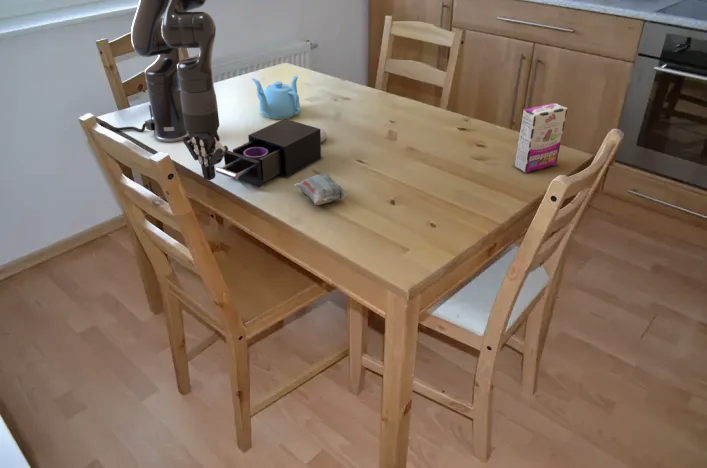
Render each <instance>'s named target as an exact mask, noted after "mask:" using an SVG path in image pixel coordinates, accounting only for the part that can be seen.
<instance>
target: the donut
mask: <svg viewBox="0 0 707 468" xmlns="http://www.w3.org/2000/svg"><path fill="white" fill-rule="evenodd" d="M307 125H308V126H312V127H315V128H319V129H320V133H321V143H323V142H324V141H325V140H326V137H327V132H326V130H325V129H324V127H322V126H319V125H316V124H307Z"/></svg>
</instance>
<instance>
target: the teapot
mask: <svg viewBox="0 0 707 468" xmlns="http://www.w3.org/2000/svg"><path fill="white" fill-rule="evenodd" d="M298 79H299V75H294V77H292V80H291V83H290V85H289V84H285V83H283V82H282V81H274V82H273V83H272V84H269V85H267V86H266V87H265V89H263V87H262V84H261V82H260V80H258V79H256V78H251V80H252V81H253V82H254V84H255V86H256V87H255V88H256V95H257V98H258V100H259V104H258V109H259V111H260V113H261V114H262V115H263V116H264V117H266V118H268V119H274V120H283V119H290V118H292V117H295V115H299V114H301V111H302V109H301V104H300V96H299V94H298V87H297V81H298Z"/></svg>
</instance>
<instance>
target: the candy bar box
mask: <svg viewBox="0 0 707 468" xmlns="http://www.w3.org/2000/svg"><path fill="white" fill-rule="evenodd" d="M568 109H569V108H568V107H566V106H564V105H561V104H559V103H557V102H553V103H548V104H543V105H538V106H534V107H529V108H524V109H523V110H522V116H521V122H520V128H519V136H518V141H517V147H516V152H515V153H516V154H515V160H514V168H516V169H517V170H519V171H522V172H523V173H525V174H527V173H532V172H535V171H539V170H542V169H546V168H549V167H554V166H556V165H557V161H558V159H559V152H560V147H561V143H562V138H563V133H564V127H565V123H566V118H567V112H568Z"/></svg>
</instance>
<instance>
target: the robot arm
mask: <svg viewBox="0 0 707 468" xmlns="http://www.w3.org/2000/svg"><path fill="white" fill-rule="evenodd" d="M206 1H207V0H139V1H138V5H137V9H136V12H135V15H134V18H133V21H132V24H131V25H132V26H131V31H130V32H131V33H130V35H131V36H130V37H131V44H132V47H133V50H134V52H135V53H136V54H138V55H139V56H140V57H143V58H151V57H156V56H158V57H157V58H156V60H155V61H154V62H153V63H152V64H150V65H149V66H147V68H146V69H145V70H144V77H145V82H146V88H147V92H148V98H149V104H148V109H149V114H150V119H147V120H144V122H143V124H142V127H141V128H138V127H136V126H122V127H118V126H117V127H116V126H112V125H111V124H110V123H108V122H106V121H104V120H102V121H100V122H99V123H98V124H100V125H101V126H102V125H104V126H106V127H107V128H109V129H111V130H113V131H119V132H120V131H129V130H131V131H132V130H133V131H136V132H138V133H143V132H144V131H145V130H148V131H151V132H153V136H154V137H155V139H156V140H157V141H158V142H159V141H160V142H163V143H175V142H180V141H182V142H183V144H184V145H185V147H186V148H187V150H188V152H189V153H190V155H191V157H192V158H193V160H194V161H198V163H199V165H201V172H202V176H203V179H204V180H207V181H211V180H214V179H215V178H216V175H217V174H216V168H215V166H216V165H218V164H220V163H221V162H222V161H223V160H224V156H225V154H226V152H227V151H228V150H229V147H228V145H223V144H222V143H221V142H220V140H221V139H220V136H219V133H218V130H219V128H220V118H219V116H220V115H219V107H218V100H217V95H216V90H215V86H214V77H213V68H212V61H213V51H214V45H215V39H216V33H217V27H216V22H215V20H214V19H213V17H212V15H211V14H209V12H207V11H192V10H197V9H200V8H201V7H203V6H204V5H205V4H206ZM180 49H199V53H197V54H196V55H193V56H191V57H185V58H183V59H180Z"/></svg>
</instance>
